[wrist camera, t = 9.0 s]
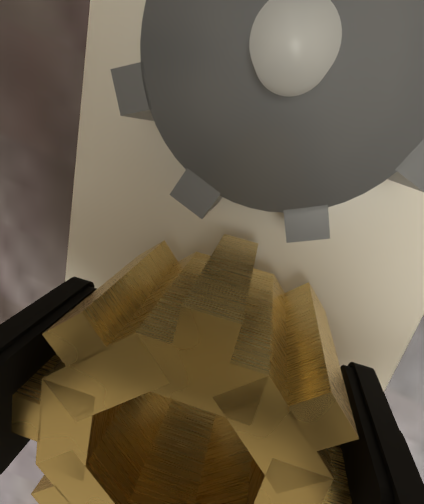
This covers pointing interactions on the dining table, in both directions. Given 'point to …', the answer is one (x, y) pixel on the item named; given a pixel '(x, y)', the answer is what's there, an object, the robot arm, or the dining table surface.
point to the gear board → (152, 215)
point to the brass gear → (190, 389)
